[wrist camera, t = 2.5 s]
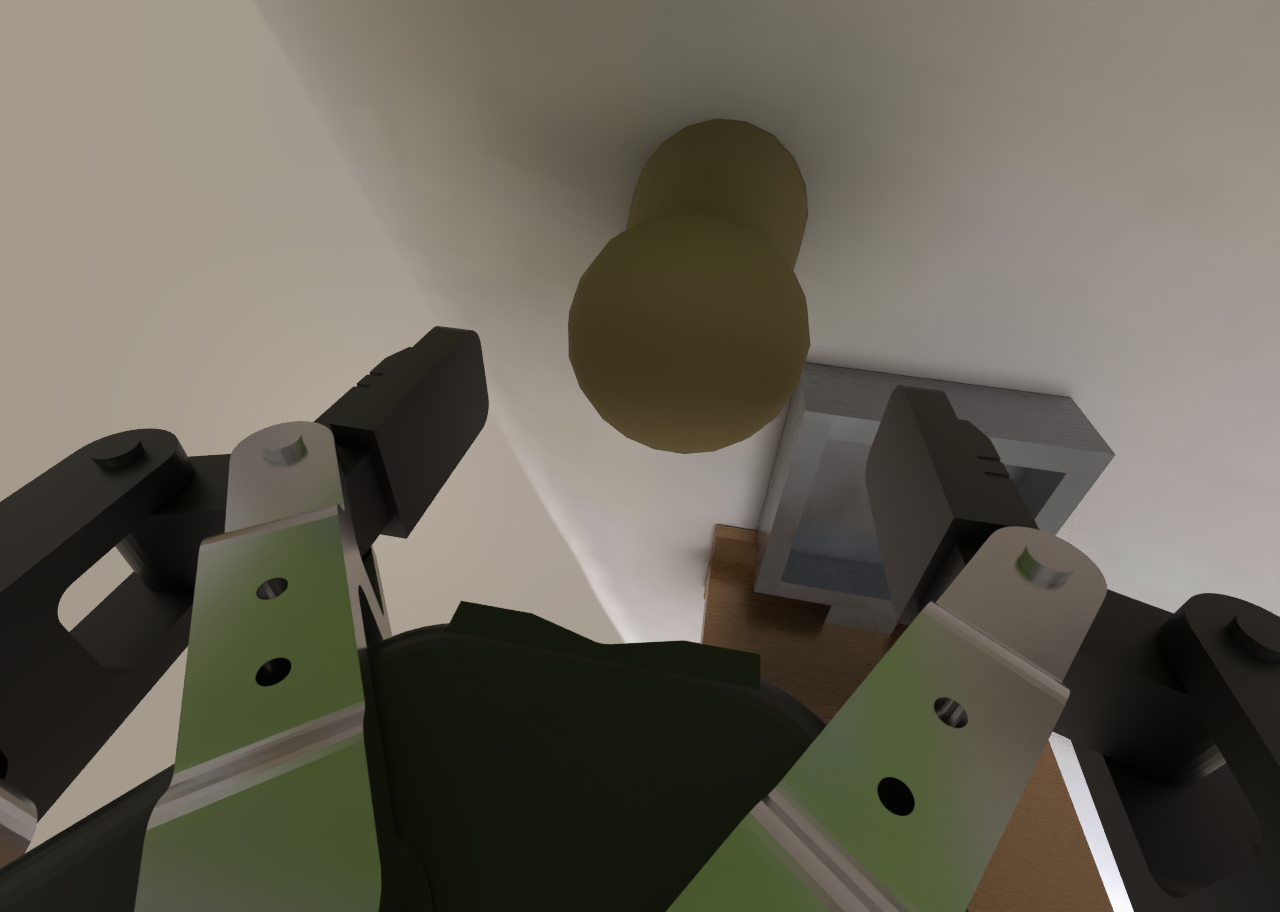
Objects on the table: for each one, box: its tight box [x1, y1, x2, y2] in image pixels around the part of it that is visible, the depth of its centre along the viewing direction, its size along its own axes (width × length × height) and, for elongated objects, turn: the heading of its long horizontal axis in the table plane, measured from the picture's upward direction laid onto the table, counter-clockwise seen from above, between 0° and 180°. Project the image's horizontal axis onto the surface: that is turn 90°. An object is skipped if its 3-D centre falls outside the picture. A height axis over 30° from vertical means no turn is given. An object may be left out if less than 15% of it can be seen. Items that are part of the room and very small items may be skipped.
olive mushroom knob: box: [568, 119, 810, 454], centre depth 15 cm, size 6×6×11 cm
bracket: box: [700, 363, 1115, 912], centre depth 21 cm, size 15×14×14 cm
